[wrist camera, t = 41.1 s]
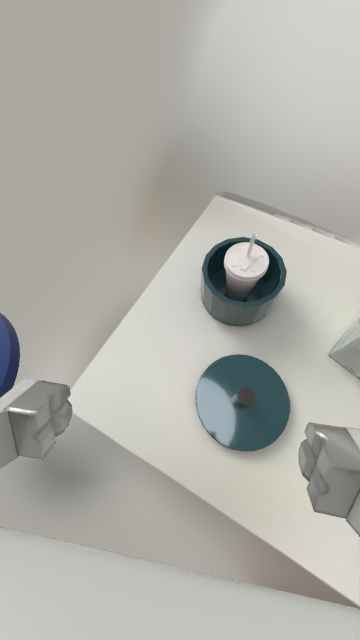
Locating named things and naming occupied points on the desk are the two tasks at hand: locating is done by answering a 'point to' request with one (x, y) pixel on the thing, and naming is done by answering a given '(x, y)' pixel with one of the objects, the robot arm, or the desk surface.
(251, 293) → the pot
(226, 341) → the desk surface
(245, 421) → the lid
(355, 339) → the small box
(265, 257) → the smoothie
